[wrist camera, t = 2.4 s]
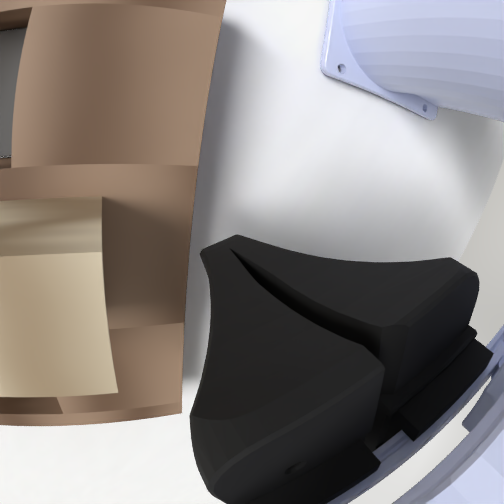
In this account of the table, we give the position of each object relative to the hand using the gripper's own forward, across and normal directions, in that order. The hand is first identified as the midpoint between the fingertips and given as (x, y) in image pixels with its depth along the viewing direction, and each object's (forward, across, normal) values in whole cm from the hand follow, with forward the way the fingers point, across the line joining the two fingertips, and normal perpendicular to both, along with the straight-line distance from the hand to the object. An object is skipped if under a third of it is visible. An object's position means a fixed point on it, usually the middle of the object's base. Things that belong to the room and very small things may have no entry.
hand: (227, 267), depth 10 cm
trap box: (+4, +9, -4) cm, 10 cm away
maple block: (+1, +6, -2) cm, 6 cm away
